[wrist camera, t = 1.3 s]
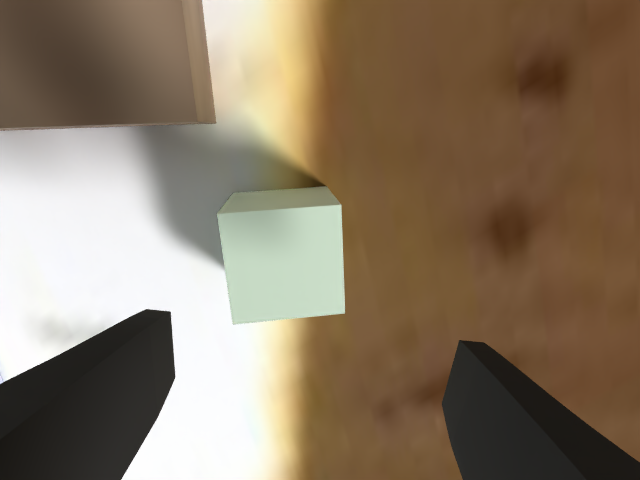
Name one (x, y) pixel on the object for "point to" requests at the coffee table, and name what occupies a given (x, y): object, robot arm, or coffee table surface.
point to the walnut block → (103, 64)
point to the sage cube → (283, 254)
